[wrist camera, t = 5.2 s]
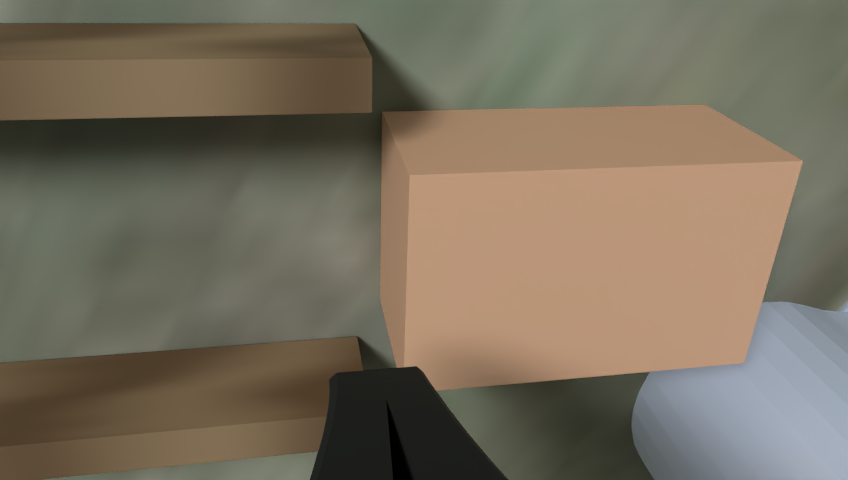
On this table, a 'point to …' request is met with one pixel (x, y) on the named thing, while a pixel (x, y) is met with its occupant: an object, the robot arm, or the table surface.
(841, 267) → the table surface
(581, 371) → the terracotta brick
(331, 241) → the table surface
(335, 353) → the walnut cubby
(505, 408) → the table surface
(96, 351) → the table surface
